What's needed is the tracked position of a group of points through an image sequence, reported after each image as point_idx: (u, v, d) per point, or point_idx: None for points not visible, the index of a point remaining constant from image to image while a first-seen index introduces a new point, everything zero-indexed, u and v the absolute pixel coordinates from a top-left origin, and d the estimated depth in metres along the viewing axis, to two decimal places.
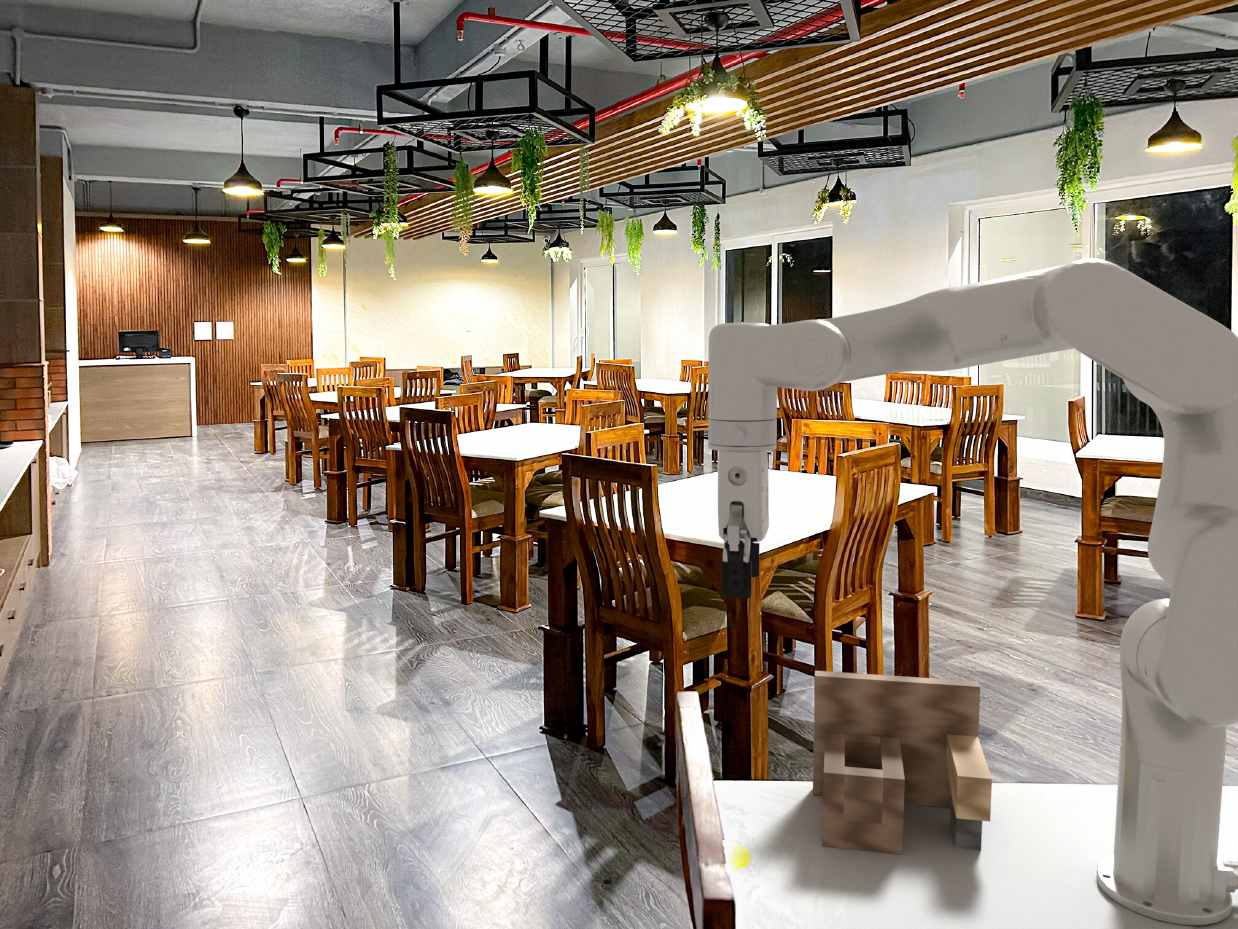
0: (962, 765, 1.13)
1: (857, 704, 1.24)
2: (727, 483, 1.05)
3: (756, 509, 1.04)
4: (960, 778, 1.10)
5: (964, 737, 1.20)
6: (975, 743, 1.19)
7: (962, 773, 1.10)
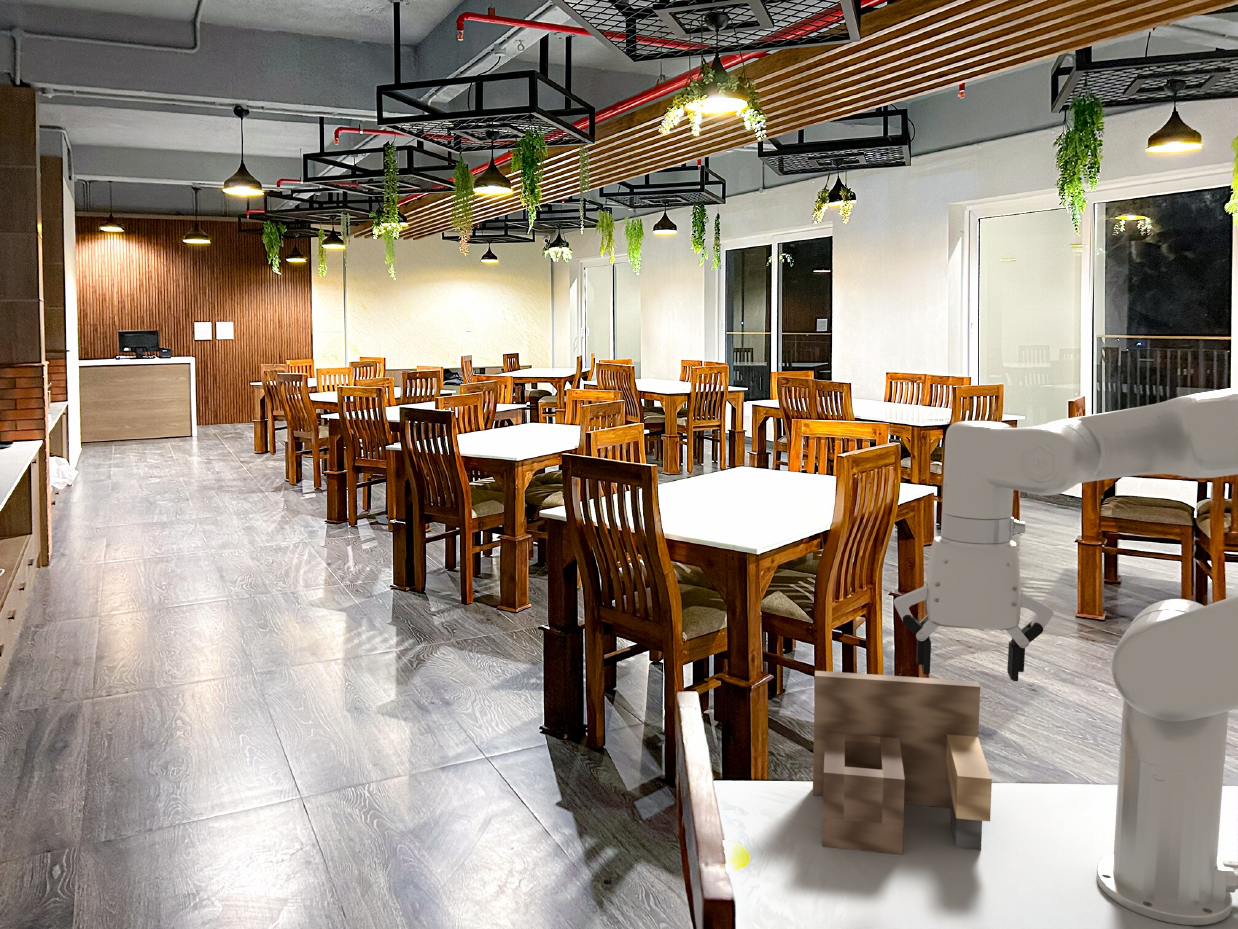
0: (962, 765, 1.13)
1: (857, 704, 1.24)
2: (1019, 574, 1.10)
3: None
4: (960, 778, 1.10)
5: (964, 737, 1.20)
6: (975, 742, 1.19)
7: (962, 773, 1.10)
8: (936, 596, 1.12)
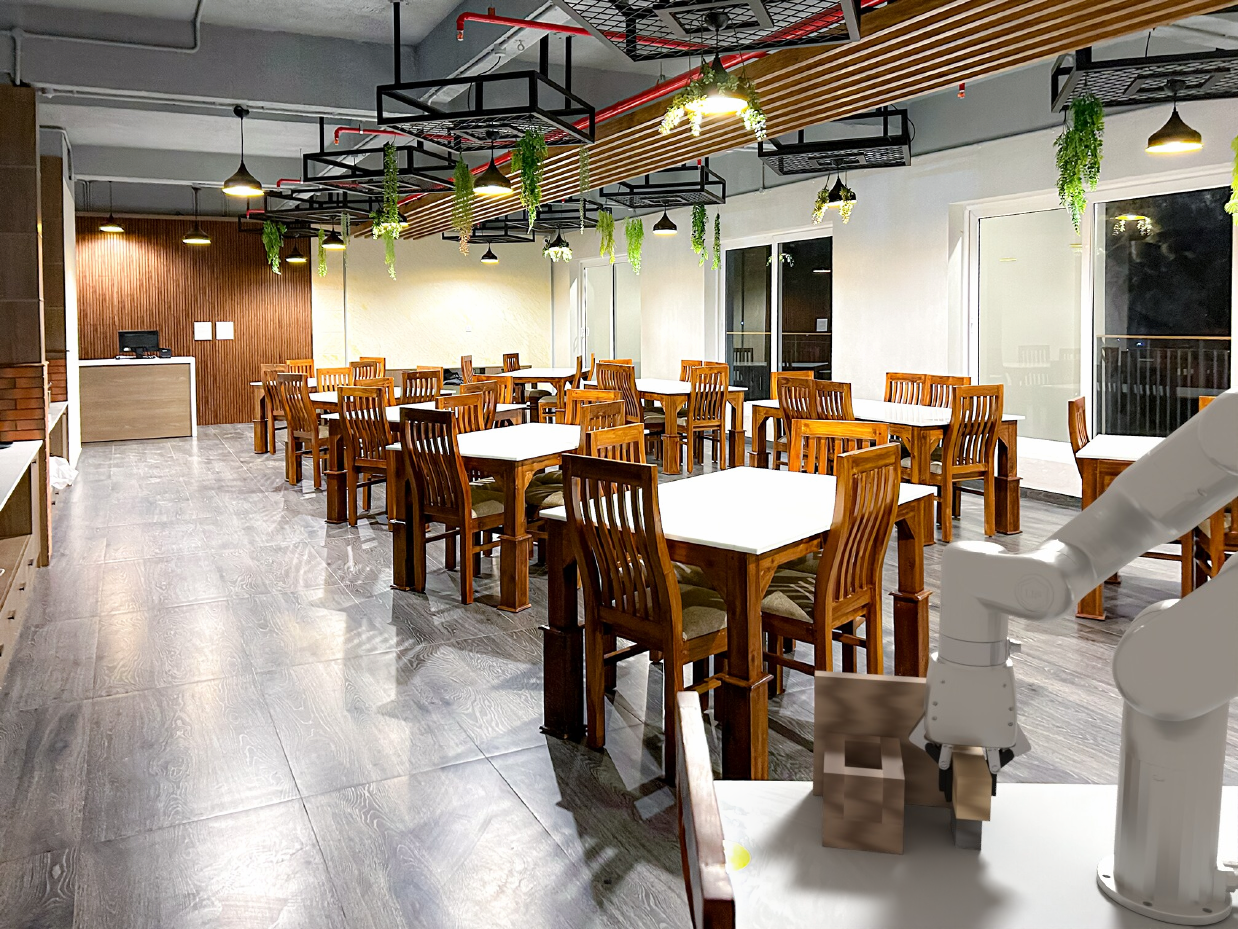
0: (962, 765, 1.13)
1: (857, 704, 1.24)
2: None
3: None
4: (960, 778, 1.10)
5: None
6: None
7: (962, 773, 1.10)
8: (934, 715, 1.13)
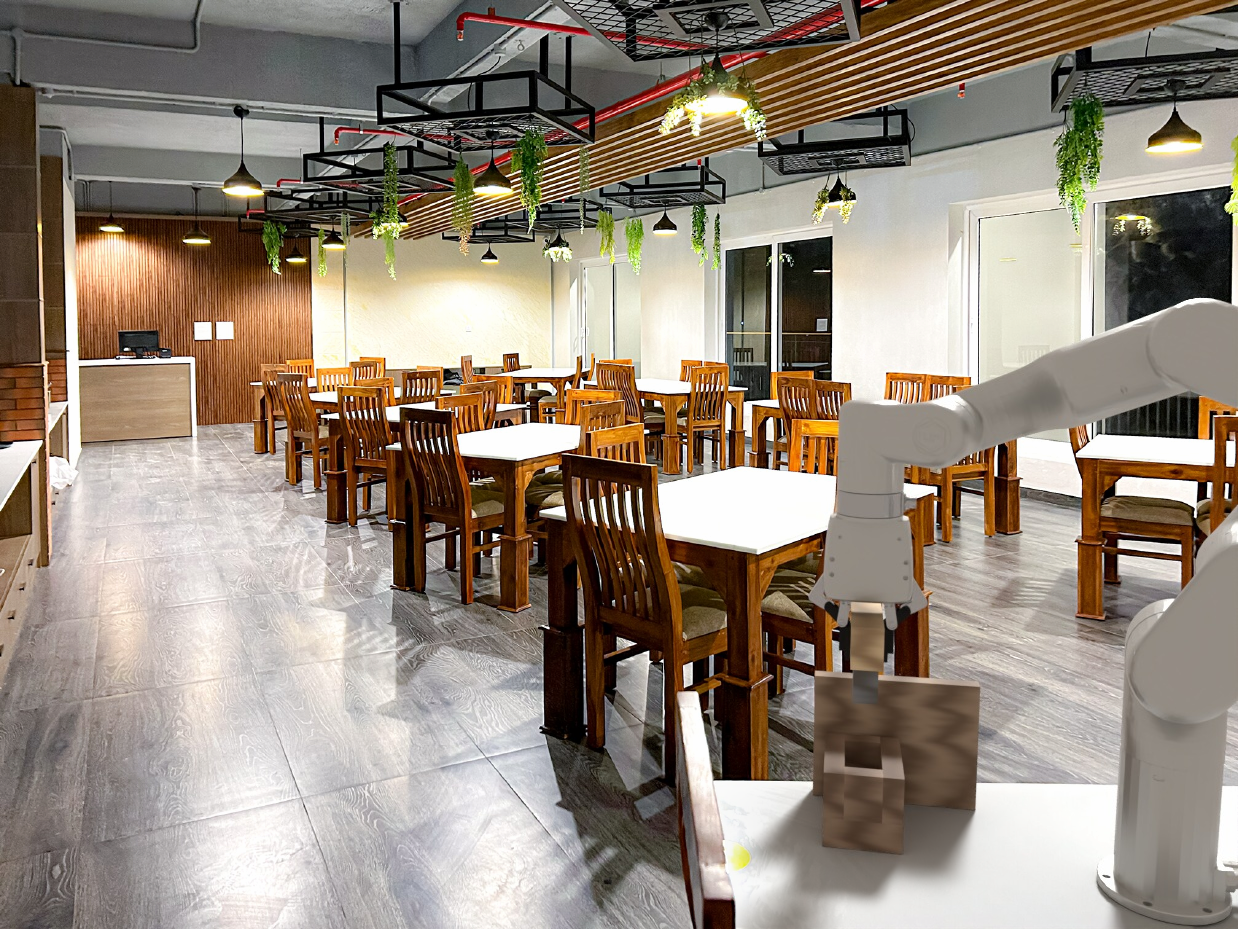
0: (858, 619, 1.13)
1: (857, 704, 1.24)
2: (911, 548, 1.13)
3: None
4: (854, 629, 1.10)
5: None
6: (877, 605, 1.19)
7: (856, 625, 1.11)
8: (831, 571, 1.14)
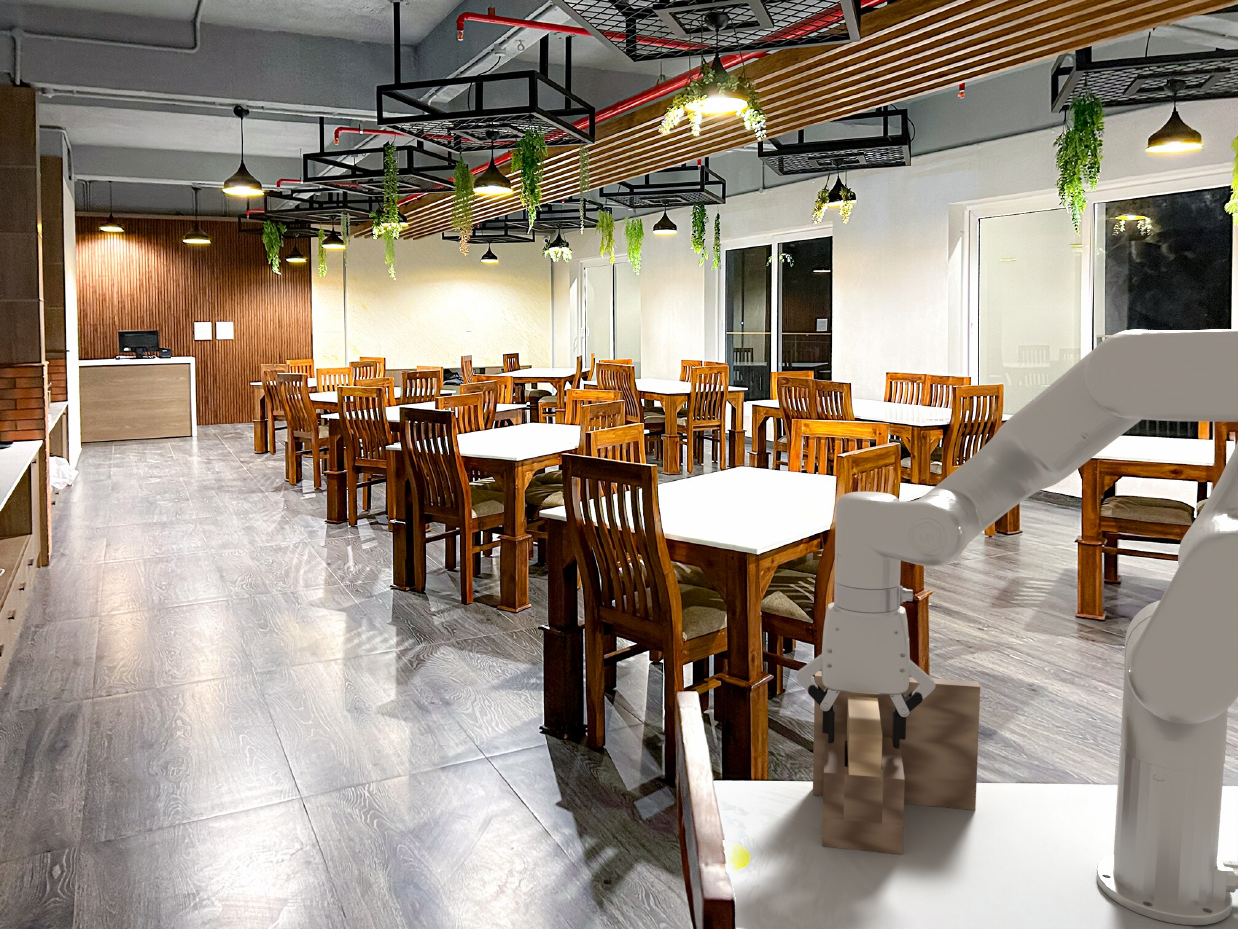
0: (856, 723, 1.15)
1: None
2: (908, 641, 1.14)
3: None
4: (852, 735, 1.12)
5: (864, 698, 1.22)
6: (874, 703, 1.21)
7: (854, 730, 1.13)
8: (829, 662, 1.15)
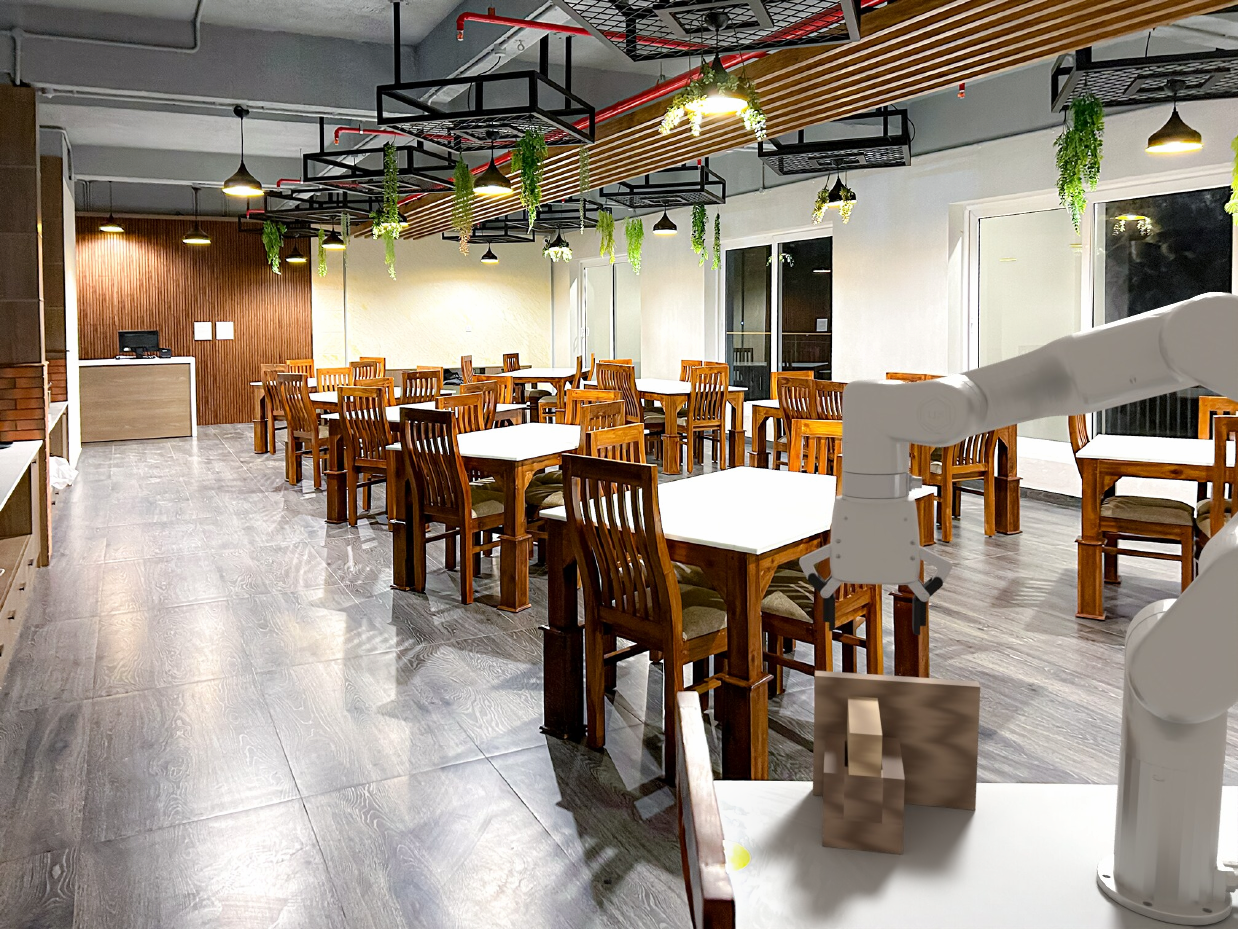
0: (856, 723, 1.15)
1: None
2: (918, 529, 1.12)
3: None
4: (852, 735, 1.12)
5: (864, 698, 1.22)
6: (874, 703, 1.21)
7: (854, 730, 1.13)
8: (838, 553, 1.13)
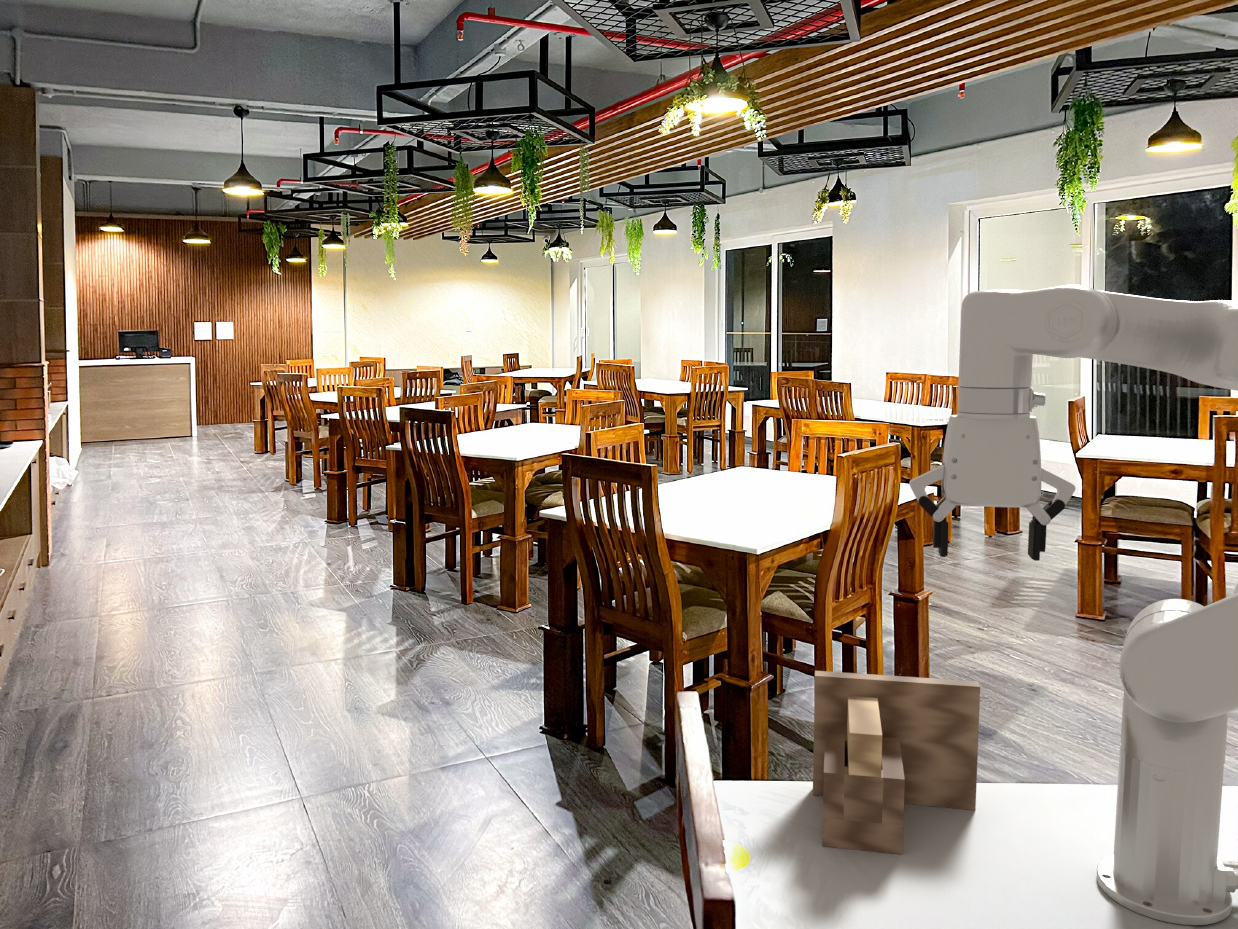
0: (856, 723, 1.15)
1: None
2: None
3: None
4: (852, 735, 1.12)
5: (864, 698, 1.22)
6: (874, 703, 1.21)
7: (854, 730, 1.13)
8: (954, 473, 1.08)
